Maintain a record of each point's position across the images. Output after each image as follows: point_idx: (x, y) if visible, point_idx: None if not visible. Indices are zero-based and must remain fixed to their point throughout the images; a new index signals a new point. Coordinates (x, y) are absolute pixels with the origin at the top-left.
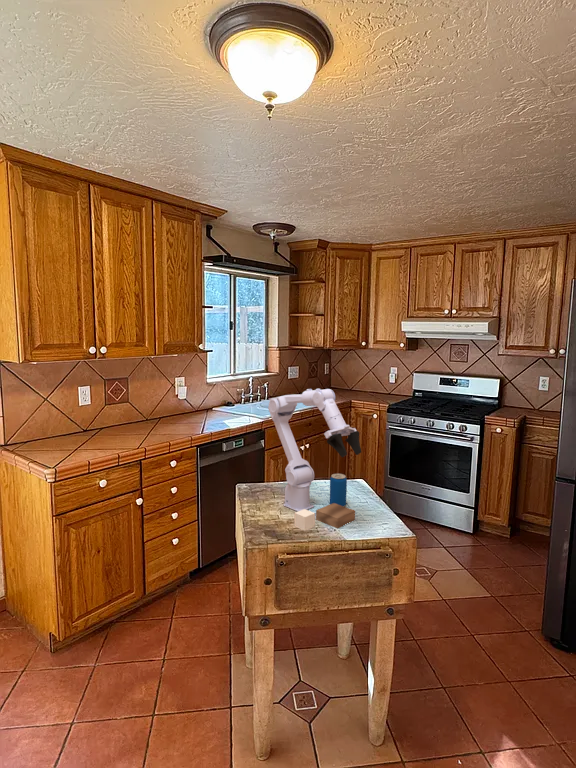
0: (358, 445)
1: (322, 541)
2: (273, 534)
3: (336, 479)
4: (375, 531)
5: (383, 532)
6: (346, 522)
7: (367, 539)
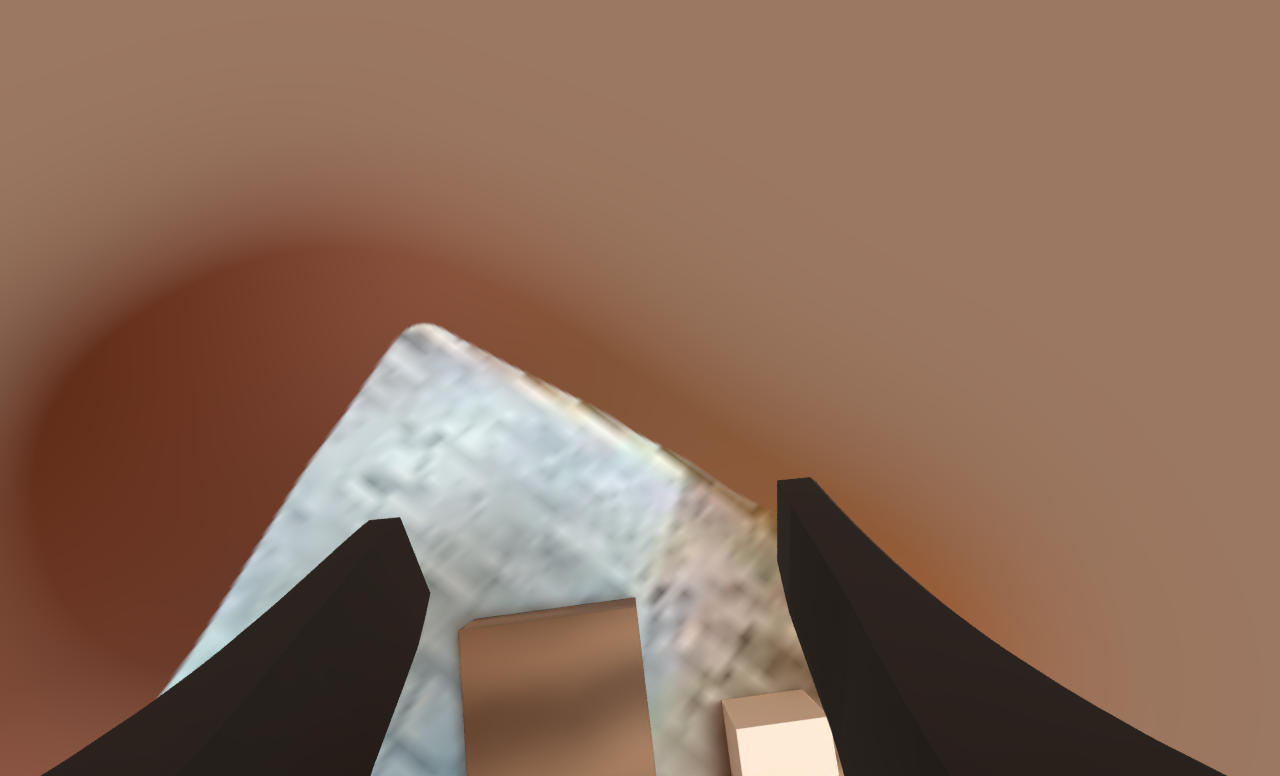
0: (328, 599)
1: None
2: None
3: None
4: (497, 448)
5: (474, 415)
6: (553, 610)
7: (599, 411)
